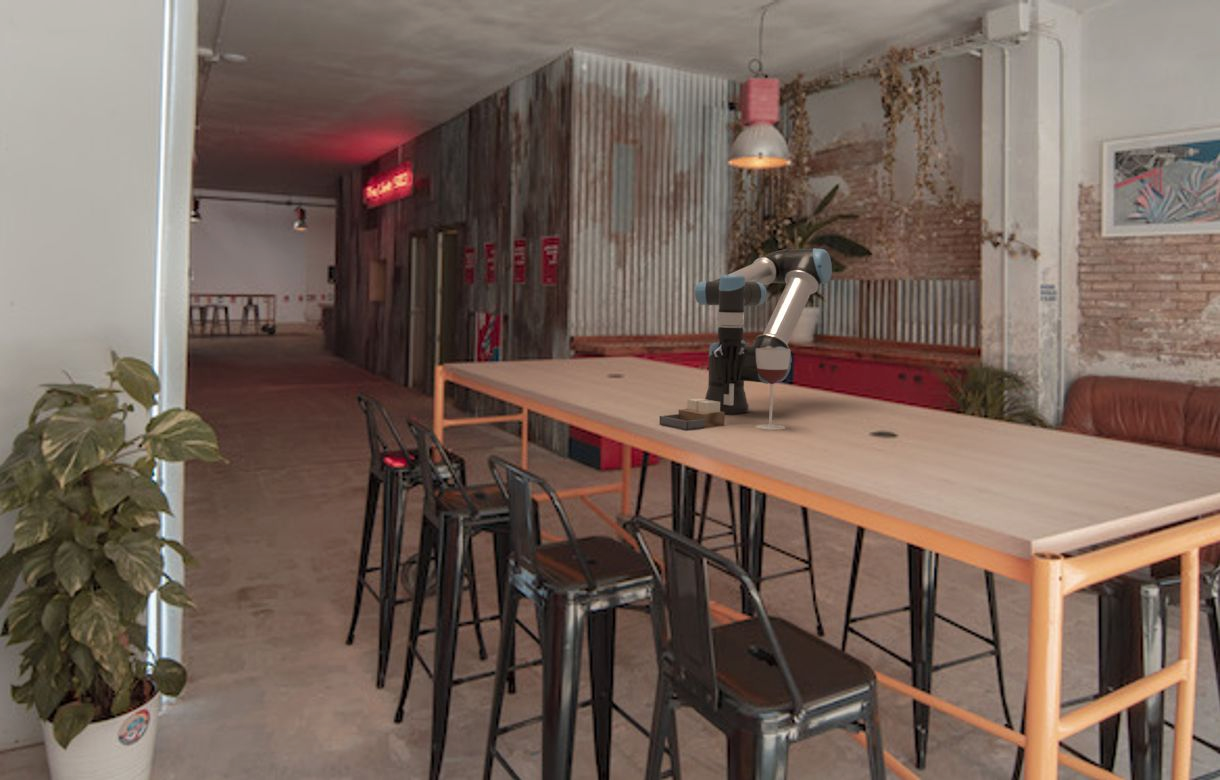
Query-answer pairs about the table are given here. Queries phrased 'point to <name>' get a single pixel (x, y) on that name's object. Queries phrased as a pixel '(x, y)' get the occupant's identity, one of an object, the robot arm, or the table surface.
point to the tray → (681, 422)
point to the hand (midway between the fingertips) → (728, 404)
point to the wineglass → (772, 373)
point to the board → (703, 417)
